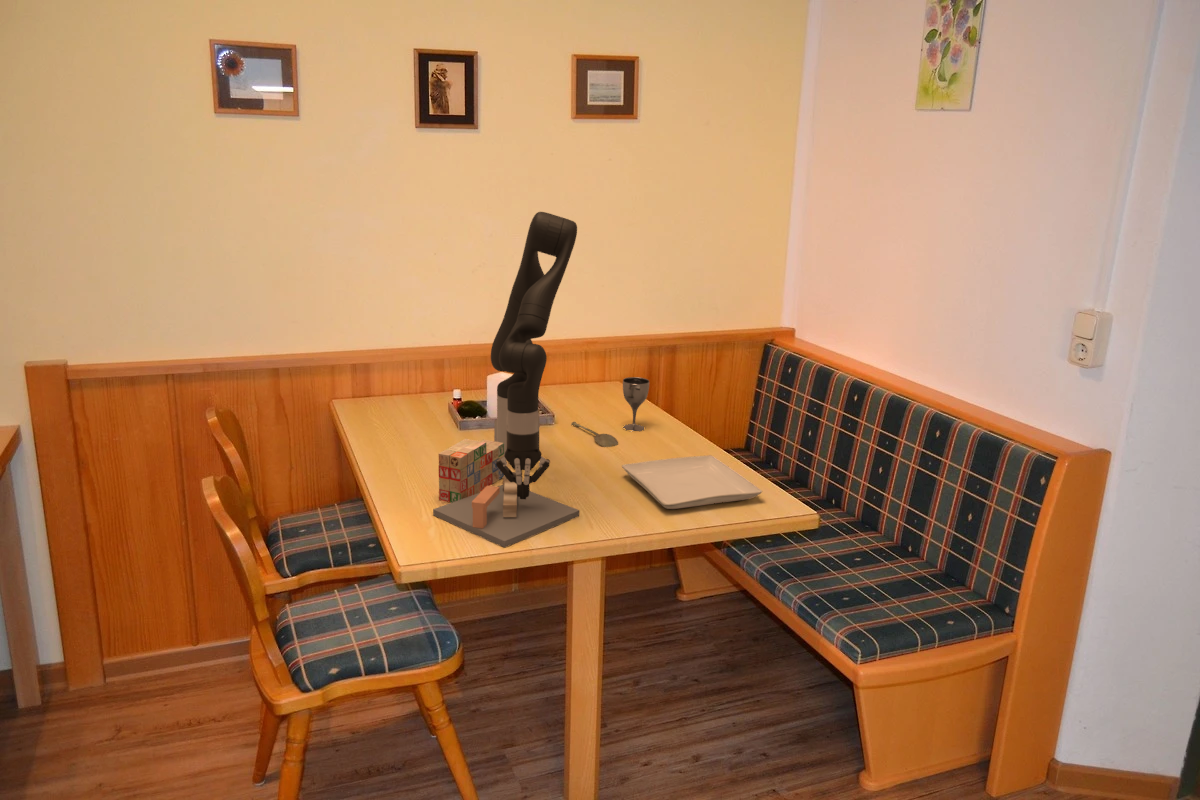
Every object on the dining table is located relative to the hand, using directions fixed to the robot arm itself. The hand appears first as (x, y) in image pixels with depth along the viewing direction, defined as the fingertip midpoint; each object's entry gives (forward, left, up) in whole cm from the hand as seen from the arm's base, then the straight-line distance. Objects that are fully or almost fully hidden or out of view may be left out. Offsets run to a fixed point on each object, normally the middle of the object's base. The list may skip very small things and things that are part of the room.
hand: (523, 498), depth 217 cm
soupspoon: (-26, +54, -4) cm, 60 cm away
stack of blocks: (-20, +2, -4) cm, 20 cm away
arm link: (-4, 0, -2) cm, 4 cm away
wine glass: (-22, +69, -4) cm, 72 cm away
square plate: (+19, +41, -4) cm, 45 cm away
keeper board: (-1, -4, -4) cm, 6 cm away
